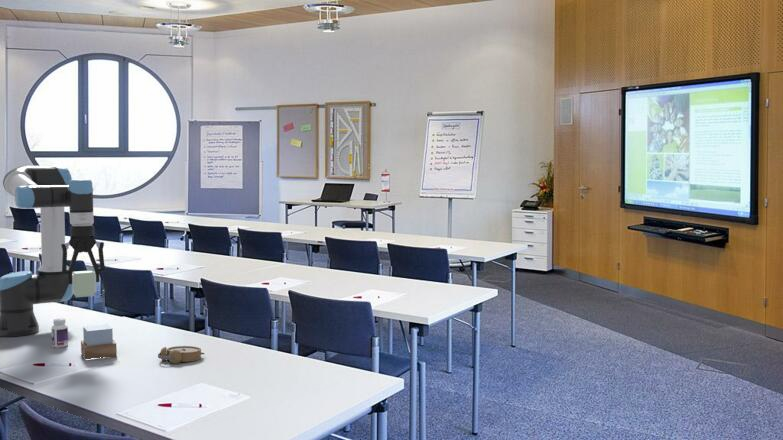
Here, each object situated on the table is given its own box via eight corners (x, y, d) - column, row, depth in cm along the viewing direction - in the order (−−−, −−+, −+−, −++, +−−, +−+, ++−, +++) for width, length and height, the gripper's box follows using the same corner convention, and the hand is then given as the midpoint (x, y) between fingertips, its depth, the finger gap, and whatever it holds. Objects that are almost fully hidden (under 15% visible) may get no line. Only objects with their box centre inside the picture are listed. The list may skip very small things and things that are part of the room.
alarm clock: (208, 350, 255) (170, 350, 244) (206, 364, 255) (168, 365, 244) (189, 344, 263) (151, 345, 251) (187, 359, 262) (149, 359, 251)
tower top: (83, 341, 259) (83, 326, 259) (108, 338, 264) (107, 324, 263) (87, 345, 253) (87, 331, 252) (112, 343, 257) (112, 328, 256)
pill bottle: (71, 344, 274) (70, 318, 273) (63, 348, 269) (62, 321, 268) (57, 344, 275) (56, 317, 274) (49, 347, 269) (48, 320, 269)
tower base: (81, 355, 260) (80, 340, 260) (111, 351, 265) (111, 337, 265) (85, 361, 252) (84, 346, 251) (116, 357, 257) (116, 343, 256)
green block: (73, 294, 258) (73, 271, 257) (92, 293, 261) (91, 270, 260) (75, 297, 253) (74, 273, 252) (94, 295, 255) (94, 272, 255)
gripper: (52, 226, 247) (54, 296, 249) (113, 224, 256) (115, 291, 258) (50, 225, 254) (52, 293, 255) (110, 223, 263) (112, 289, 264)
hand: (84, 292), depth 257 cm, fingers closed on green block, 6 cm apart
